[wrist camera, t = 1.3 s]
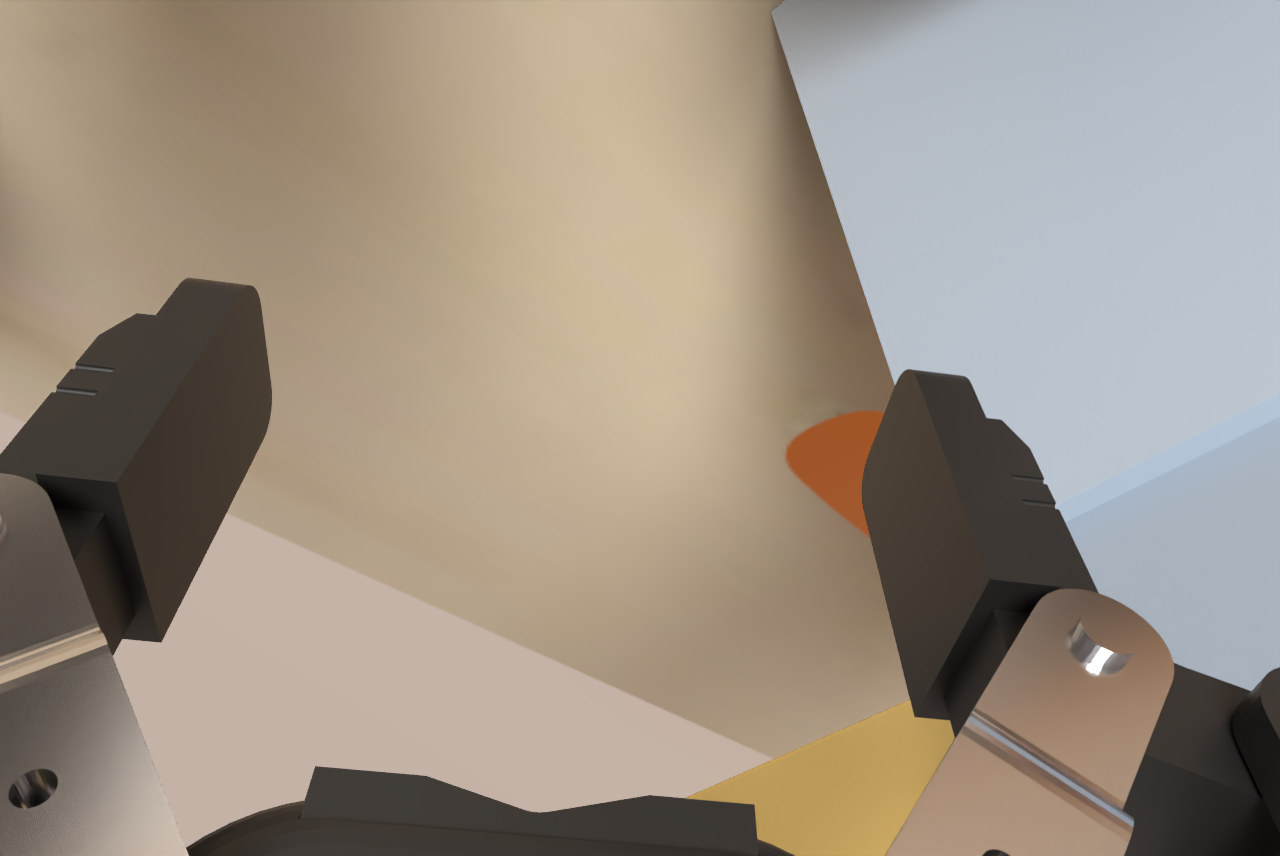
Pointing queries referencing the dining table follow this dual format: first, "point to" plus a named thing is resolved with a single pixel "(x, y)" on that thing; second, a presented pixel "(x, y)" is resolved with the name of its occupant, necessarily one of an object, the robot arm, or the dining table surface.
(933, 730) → the bar
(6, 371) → the dining table surface
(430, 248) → the dining table surface
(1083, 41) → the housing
